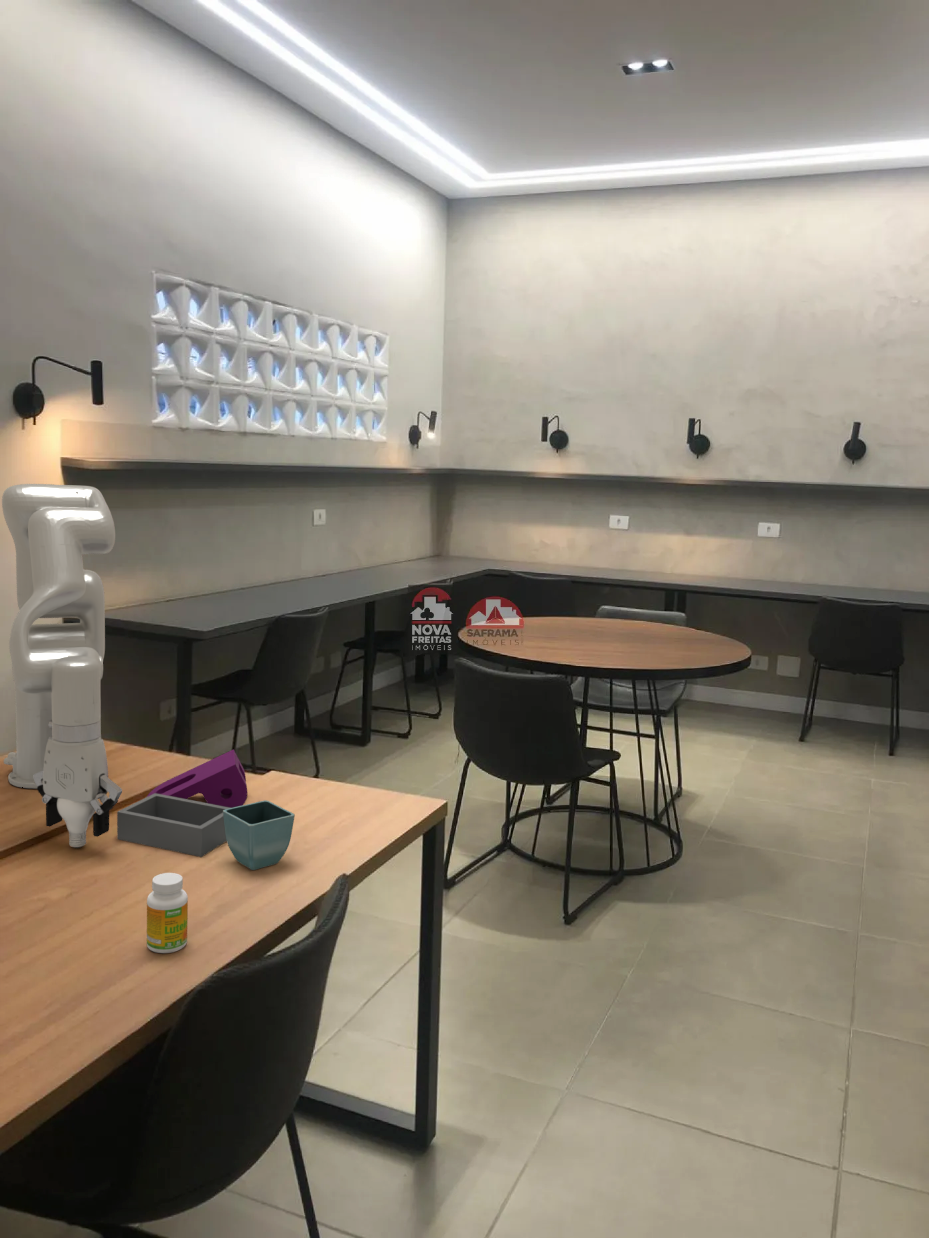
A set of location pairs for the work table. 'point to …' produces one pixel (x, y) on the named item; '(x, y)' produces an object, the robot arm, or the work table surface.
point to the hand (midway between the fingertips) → (77, 828)
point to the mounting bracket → (210, 782)
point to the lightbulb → (75, 819)
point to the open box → (173, 824)
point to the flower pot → (258, 833)
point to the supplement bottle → (167, 914)
